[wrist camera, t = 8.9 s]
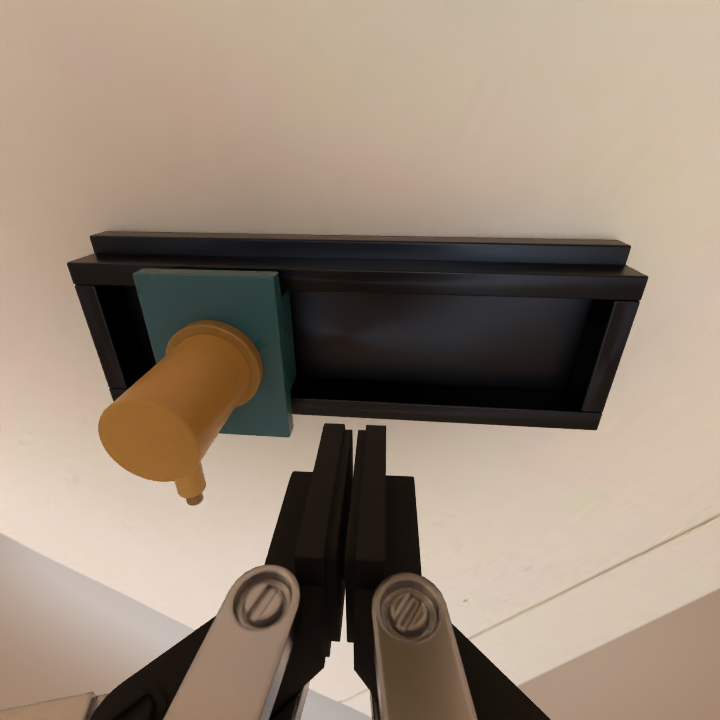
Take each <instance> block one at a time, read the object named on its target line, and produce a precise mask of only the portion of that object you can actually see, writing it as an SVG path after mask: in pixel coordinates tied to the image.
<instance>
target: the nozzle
mask: <svg viewBox="0 0 720 720" xmlns="http://www.w3.org/2000/svg"><path fill="white" fill-rule="evenodd" d="M133 278H134V282H135V285H136V289H137V293H138V297H139V300H140V304H141V308H142V311H143V315H144V319H145V323H146V326H147V330H148V334H149V338H150V341H151V345H152V349H153V353H154V356H155V360H156V365H155V366H154V367H153V368H152V369H150V370H149V371H148V372H147V373H146V374H145V375H144V376H143V377H141V378H140V379H139V380H138V381H137V382H136V383H135V384H133V385H132V386H131V387H130V388H129V389H128V390H127V391H125V392H124V393H123V394H122V395H121V396H120V397H119V398H117V399H116V400H115V401H114V402H113V403H112V404H111V405H110V406H108V407H107V408H106V409H105V410H104V412H103V413H102V415H101V418H100V420H99V426H98V431H99V436H100V440H101V442H102V444H103V446H104V448H105V450H106V451H107V452H108V454H109V455H110V456H111V457H112V458H113V459H114V460H115V461H116V462H117V463H118V464H119V465H120V466H122V467H123V468H124V469H126V470H128V471H129V472H131V473H133V474H135V475H137V476H140V477H142V478H145V479H149V480H153V481H161V482H168V481H175V484H176V488H177V491H178V494H179V495H180V496H181V497H183V498H186V501H187V503H188V504H189V505H192V506H193V505H197V504H199V503H200V502H201V501H202V500H203V494H202V492H203V491H204V489H205V486H206V482H205V478H204V474H203V470H202V465H201V459H202V458H203V456H204V455H205V453H206V452H207V450H208V449H209V447H210V445H211V444H212V442H213V441H214V439H215V438H216V436H217V435H218V433H222V434H239V435H256V436H274V437H290V435H291V432H292V430H293V417H292V407H291V396H290V390H291V388H292V386H293V384H294V381H295V379H296V377H297V375H296V363H295V351H294V339H293V327H292V316H291V304H290V292H289V291H287V290H280V281H279V273H278V272H272V271H232V270H191V269H151V268H143V269H141V270H139V271H137V272H135V273H133Z"/></svg>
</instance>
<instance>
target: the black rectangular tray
mask: <svg viewBox="0 0 720 720" xmlns="http://www.w3.org/2000/svg"><path fill="white" fill-rule="evenodd" d="M90 240H91V243H92V246H93V249H94V254H91V255H88V256H85V257H82V258H79V259H76V260H73V261H70V262H68V263H67V266H68V269H69V272H70V274H71V277H72V280H73V283H74V284H76V285H75V289H76V292H77V295H78V297H79V300H80V303H81V306H82V309H83V312H84V315H85V318H86V321H87V324H88V327H89V330H90V333H91V336H92V339H93V342H94V345H95V348H96V350H97V353H98V356H99V359H100V362H101V365H102V368H103V371H104V374H105V377H106V380H107V383H108V386H109V388H110V389H109V390H110V393H111V396H112V398H113V401H115V400H116V399H117V398H119V397H120V396H121V395H122V394H123V393H124V392H125V391H127V390H128V389H129V388H130V387H131V386H132V385H133V384H135V383H136V382H137V381H138V380H139V379H140V378H141V377H143V376H144V375H145V374H146V373H147V372H148V371H149V370H150V369H152V368H153V367H154V366H155V365H156V360H155V356H154V353H153V349H152V345H151V341H150V338H149V334H148V330H147V326H146V323H145V319H144V315H143V311H142V308H141V304H140V300H139V297H138V293H137V289H136V285H135V282H134V278H133V273H135V272H137V271H139V270H141V269H143V268H151V269H191V270H232V271H272V272H278V273H279V281H280V290H287V291H289V292H290V304H291V316H292V327H293V339H294V351H295V363H296V375H297V377H296V379H295V381H294V384H293V386H292V388H291V390H290V396H291V407H292V414H301V415H319V416H338V417H357V418H376V419H395V420H413V421H432V422H451V423H470V424H488V425H507V426H526V427H545V428H564V429H582V430H597V428H598V425H599V422H600V419H601V416H602V412H603V409H604V406H605V403H606V400H607V397H608V394H609V391H610V389H611V386H612V383H613V380H614V377H615V374H616V371H617V368H618V365H619V362H620V359H621V356H622V353H623V350H624V347H625V344H626V342H627V339H628V336H629V333H630V330H631V327H632V324H633V321H634V318H635V315H636V312H637V309H638V306H639V303H640V302H639V301H638V300H641V298H642V295H643V292H644V289H645V286H646V283H647V280H648V276H646V275H644V274H642V273H640V272H638V271H636V270H634V269H632V268H630V267H628V266H626V261H627V258H628V255H629V252H630V248H631V246H630V245H628V244H625V243H623V242H621V241H618V240H580V239H521V238H463V237H405V236H347V235H289V234H231V233H173V232H115V231H105V232H102V233H98V234H94V235H91V236H90Z"/></svg>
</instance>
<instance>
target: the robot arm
mask: <svg viewBox="0 0 720 720" xmlns="http://www.w3.org/2000/svg"><path fill="white" fill-rule="evenodd" d="M345 588H346V622H347V642H352V643H354V670H355V671H356V673H357V674H358V675H359V677H360V678H361V679H362V681H363V682H364V683H365V685H366V686H367V687H368V689H369V690H370V701H371V712H372V720H550V719H549V717H547V716H546V715H545V714H544V713H543V712H542V711H541V710H540V709H539V708H538V707H537V706H536V705H535V704H534V703H533V702H532V701H531V700H530V699H529V698H528V697H527V696H526V695H525V694H524V693H523V692H522V691H521V690H520V689H519V688H518V687H517V686H516V685H515V684H514V683H513V682H511V681H510V680H509V679H508V678H507V677H506V676H505V675H504V674H503V673H502V672H501V671H500V670H499V669H498V668H497V667H496V666H495V665H494V664H493V663H492V662H491V661H490V660H489V659H488V658H487V657H486V656H485V655H484V654H483V653H482V652H481V651H480V650H479V649H478V648H477V647H475V646H474V645H473V644H472V643H471V642H470V641H469V640H468V639H467V638H466V637H465V636H464V635H463V634H462V633H461V632H460V631H459V630H458V629H457V628H456V627H455V626H454V625H453V624H452V623H451V620H450V616H449V613H448V609H447V605H446V603H445V600H444V598H443V596H442V594H441V592H440V591H439V590H438V588H437V587H436V586H435V585H434V584H433V583H432V582H430V581H429V580H428V579H426V578H425V577H423V576H422V575H421V562H420V548H419V535H418V522H417V509H416V496H415V483H414V477H409V476H387V475H386V426H380V425H366V430H358V437H357V446H356V455H355V465H354V474H353V438H352V430H345V424H327V423H325V424H324V427H323V431H322V436H321V440H320V445H319V449H318V453H317V458H316V462H315V466H314V471H313V472H299V471H293V473H292V474H291V477H290V480H289V484H288V487H287V490H286V494H285V497H284V500H283V504H282V507H281V511H280V514H279V517H278V521H277V524H276V528H275V531H274V534H273V538H272V541H271V545H270V548H269V551H268V555H267V558H266V562H265V565H263V566H258V567H255V568H253V569H251V570H249V571H247V572H245V573H244V574H243V575H242V576H241V577H240V578H238V579H237V580H236V581H235V583H234V584H233V586H232V587H231V589H230V590H229V592H228V594H227V596H226V598H225V600H224V602H223V604H222V605H221V607H220V609H219V611H218V613H217V615H216V616H215V617H214V618H212V619H211V620H209V621H208V622H207V623H205V624H204V625H202V626H201V627H200V628H198V629H197V630H195V631H194V632H193V633H191V634H190V635H188V636H187V637H186V638H184V639H183V640H181V641H180V642H179V643H177V644H176V645H175V646H173V647H172V648H170V649H169V650H167V651H166V652H165V653H163V654H162V655H160V656H159V657H158V658H156V659H155V660H153V661H152V662H151V663H149V664H148V665H146V666H145V667H144V668H142V669H141V670H139V671H138V672H137V673H135V674H134V675H132V676H131V677H130V678H128V679H127V680H125V681H124V682H123V683H121V684H120V685H119V686H117V687H116V688H115V689H114V690H113V691H112V692H111V693H109V694H104V695H99V696H96V695H95V693H94V692H89V693H84V694H79V695H74V696H68V697H63V698H59V699H53V700H48V701H43V702H38V703H33V704H28V705H23V706H18V707H13V708H8V709H3V710H0V720H300V718H301V714H302V711H303V707H304V703H305V700H306V696H307V692H308V689H309V682H310V680H311V679H312V678H313V677H314V676H315V675H316V674H318V673H319V672H320V671H321V670H322V669H323V668H324V664H325V657H330V648H331V641H338V642H340V637H341V627H342V617H343V607H344V596H345Z"/></svg>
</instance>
